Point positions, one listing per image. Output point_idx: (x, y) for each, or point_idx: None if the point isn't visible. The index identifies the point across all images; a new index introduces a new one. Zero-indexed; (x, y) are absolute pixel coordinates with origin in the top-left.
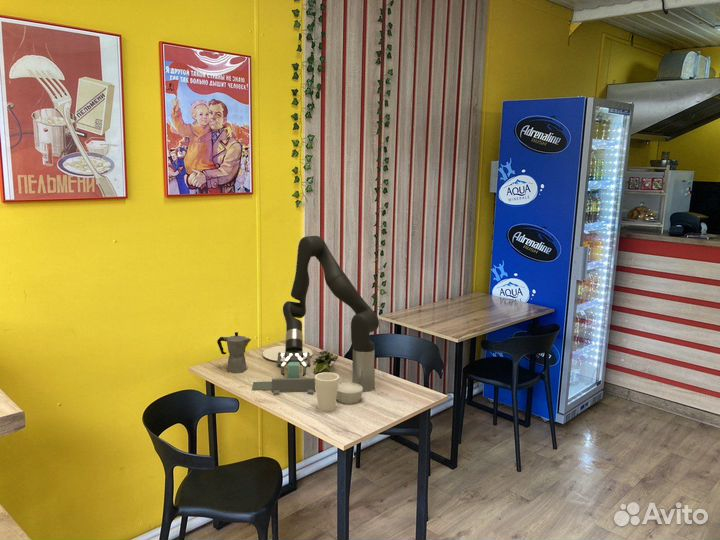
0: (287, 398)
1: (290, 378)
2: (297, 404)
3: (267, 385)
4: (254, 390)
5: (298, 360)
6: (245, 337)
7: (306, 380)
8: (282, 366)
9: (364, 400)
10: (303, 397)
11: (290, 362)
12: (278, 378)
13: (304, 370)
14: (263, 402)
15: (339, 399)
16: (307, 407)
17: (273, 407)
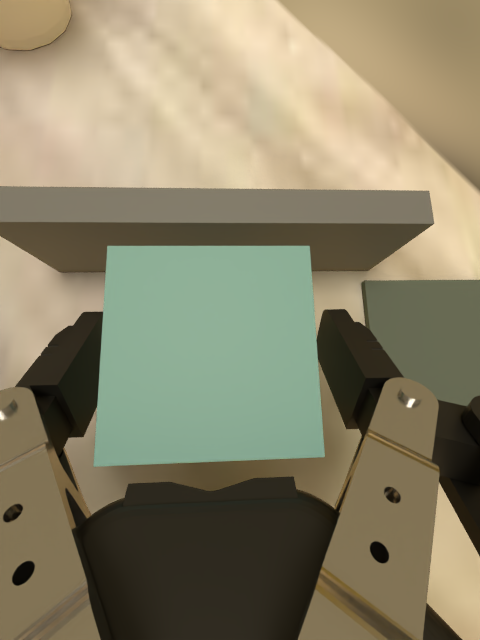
0: (255, 151)
1: (249, 218)
2: (192, 70)
3: (419, 356)
4: None
5: (96, 512)
6: None
7: (86, 196)
8: (398, 383)
9: None
10: (152, 160)
11: (283, 426)
12: (371, 222)
13: (65, 339)
14: (391, 108)
15: None
16: (135, 31)
17: (325, 46)
